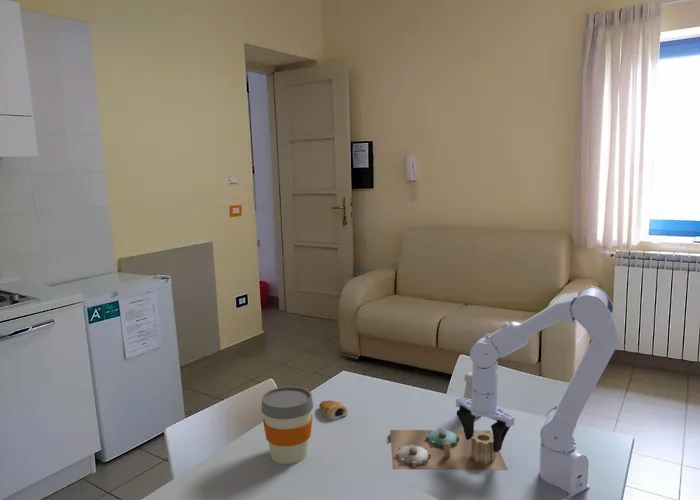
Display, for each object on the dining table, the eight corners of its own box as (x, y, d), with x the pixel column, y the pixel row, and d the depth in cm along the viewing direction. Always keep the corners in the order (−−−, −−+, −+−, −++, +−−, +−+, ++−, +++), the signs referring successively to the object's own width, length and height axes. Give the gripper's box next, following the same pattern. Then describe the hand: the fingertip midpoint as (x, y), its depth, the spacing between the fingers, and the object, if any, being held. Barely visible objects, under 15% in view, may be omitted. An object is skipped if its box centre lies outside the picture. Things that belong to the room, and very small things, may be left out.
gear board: (489, 434, 134) (490, 417, 133) (507, 474, 116) (508, 455, 116) (390, 434, 135) (390, 417, 135) (393, 473, 117) (392, 454, 117)
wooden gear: (499, 457, 121) (500, 437, 120) (486, 466, 117) (487, 446, 117) (479, 448, 125) (480, 429, 124) (466, 457, 121) (466, 437, 121)
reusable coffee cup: (321, 444, 131) (319, 388, 129) (304, 471, 119) (302, 410, 117) (276, 438, 134) (273, 383, 132) (254, 464, 122) (251, 405, 120)
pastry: (313, 410, 150) (313, 398, 150) (332, 404, 154) (332, 392, 154) (330, 422, 143) (330, 409, 142) (350, 416, 146) (350, 403, 146)
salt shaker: (480, 413, 146) (481, 369, 144) (484, 422, 140) (485, 377, 139) (460, 412, 147) (460, 369, 145) (462, 422, 141) (463, 377, 139)
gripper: (448, 385, 121) (447, 438, 123) (503, 404, 111) (501, 463, 113) (465, 377, 126) (464, 428, 128) (520, 395, 115) (517, 451, 118)
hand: (483, 444), depth 121 cm, fingers open, 7 cm apart
